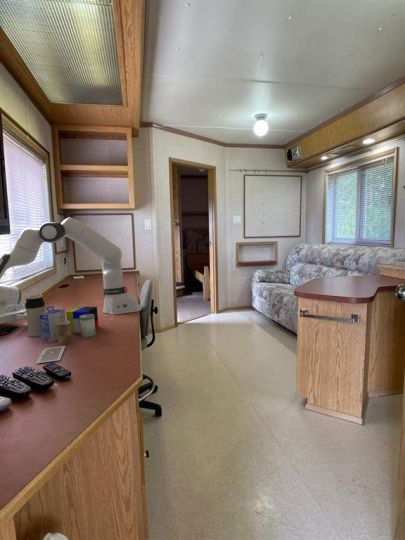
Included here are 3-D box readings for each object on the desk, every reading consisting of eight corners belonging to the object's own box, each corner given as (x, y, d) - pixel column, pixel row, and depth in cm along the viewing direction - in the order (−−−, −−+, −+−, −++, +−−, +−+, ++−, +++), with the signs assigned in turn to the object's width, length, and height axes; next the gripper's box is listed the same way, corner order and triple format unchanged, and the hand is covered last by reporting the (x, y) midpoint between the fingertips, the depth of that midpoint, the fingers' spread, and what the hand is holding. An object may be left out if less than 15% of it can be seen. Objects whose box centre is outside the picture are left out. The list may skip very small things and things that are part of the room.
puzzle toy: (87, 333, 144) (85, 312, 143) (68, 332, 146) (66, 311, 145) (98, 326, 154) (96, 306, 152) (80, 326, 156) (78, 306, 154)
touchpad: (65, 348, 127) (65, 343, 127) (59, 362, 112) (59, 357, 112) (44, 351, 125) (44, 345, 124) (36, 366, 110) (35, 360, 110)
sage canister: (97, 332, 144) (95, 313, 143) (94, 336, 138) (93, 317, 137) (82, 333, 143) (80, 314, 142) (79, 338, 137) (77, 318, 136)
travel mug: (51, 332, 146) (47, 295, 144) (34, 337, 140) (30, 298, 137) (41, 330, 151) (37, 293, 148) (25, 335, 144) (20, 297, 142)
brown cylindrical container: (72, 340, 135) (70, 320, 134) (71, 344, 130) (69, 323, 129) (59, 342, 133) (57, 321, 132) (58, 346, 128) (56, 325, 127)
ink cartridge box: (58, 334, 144) (55, 303, 142) (68, 335, 142) (65, 304, 140) (41, 341, 134) (38, 309, 133) (51, 342, 133) (48, 309, 131)
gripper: (-13, 312, 148) (1, 315, 140) (31, 302, 165) (45, 305, 157) (-11, 324, 149) (3, 329, 141) (32, 314, 166) (46, 317, 158)
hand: (25, 316), depth 149 cm, fingers closed
